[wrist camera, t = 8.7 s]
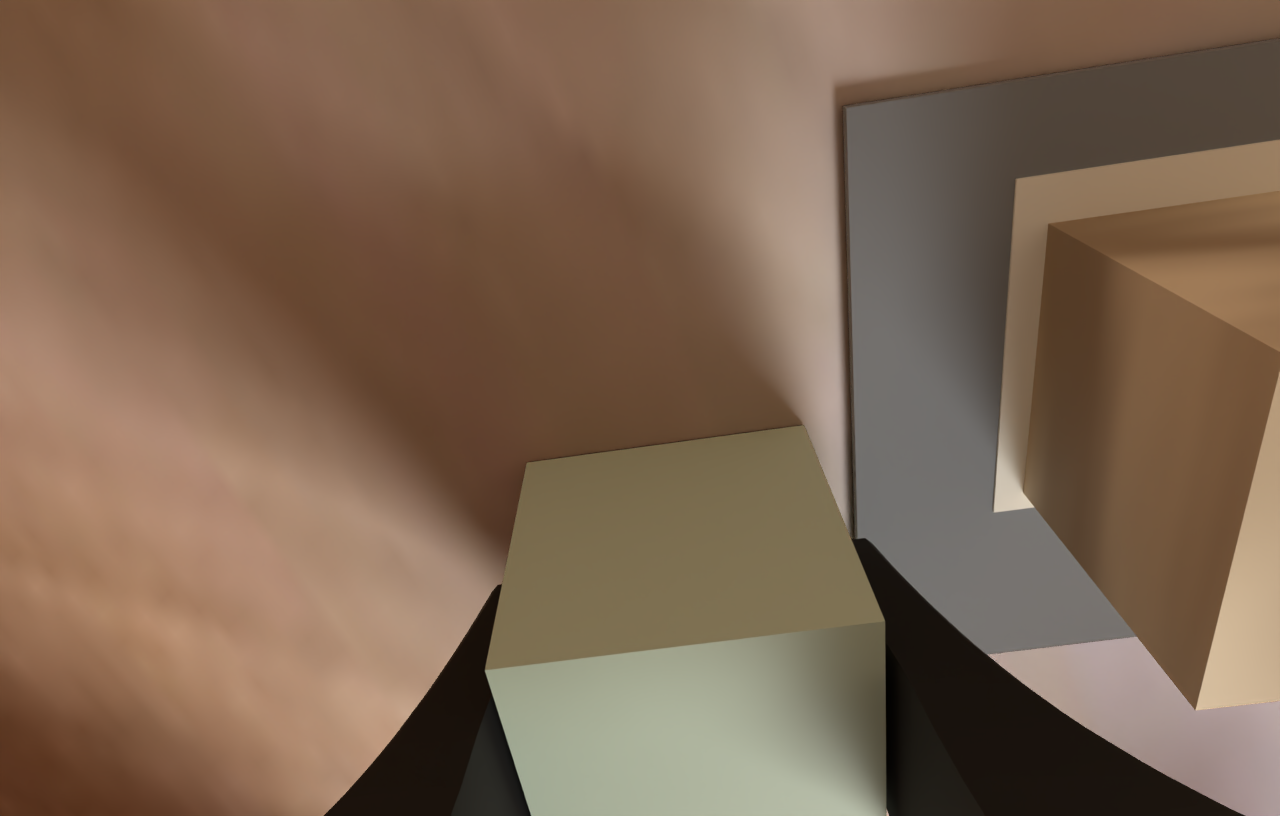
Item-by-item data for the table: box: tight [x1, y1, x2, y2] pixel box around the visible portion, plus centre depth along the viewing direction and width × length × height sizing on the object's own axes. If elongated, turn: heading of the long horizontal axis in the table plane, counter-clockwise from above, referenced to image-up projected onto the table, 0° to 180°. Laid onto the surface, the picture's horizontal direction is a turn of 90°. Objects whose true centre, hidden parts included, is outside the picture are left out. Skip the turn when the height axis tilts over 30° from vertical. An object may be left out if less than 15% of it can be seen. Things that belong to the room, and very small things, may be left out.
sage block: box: [485, 425, 886, 816], centre depth 12 cm, size 4×4×4 cm
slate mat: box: [843, 38, 1280, 654], centre depth 13 cm, size 9×10×1 cm
